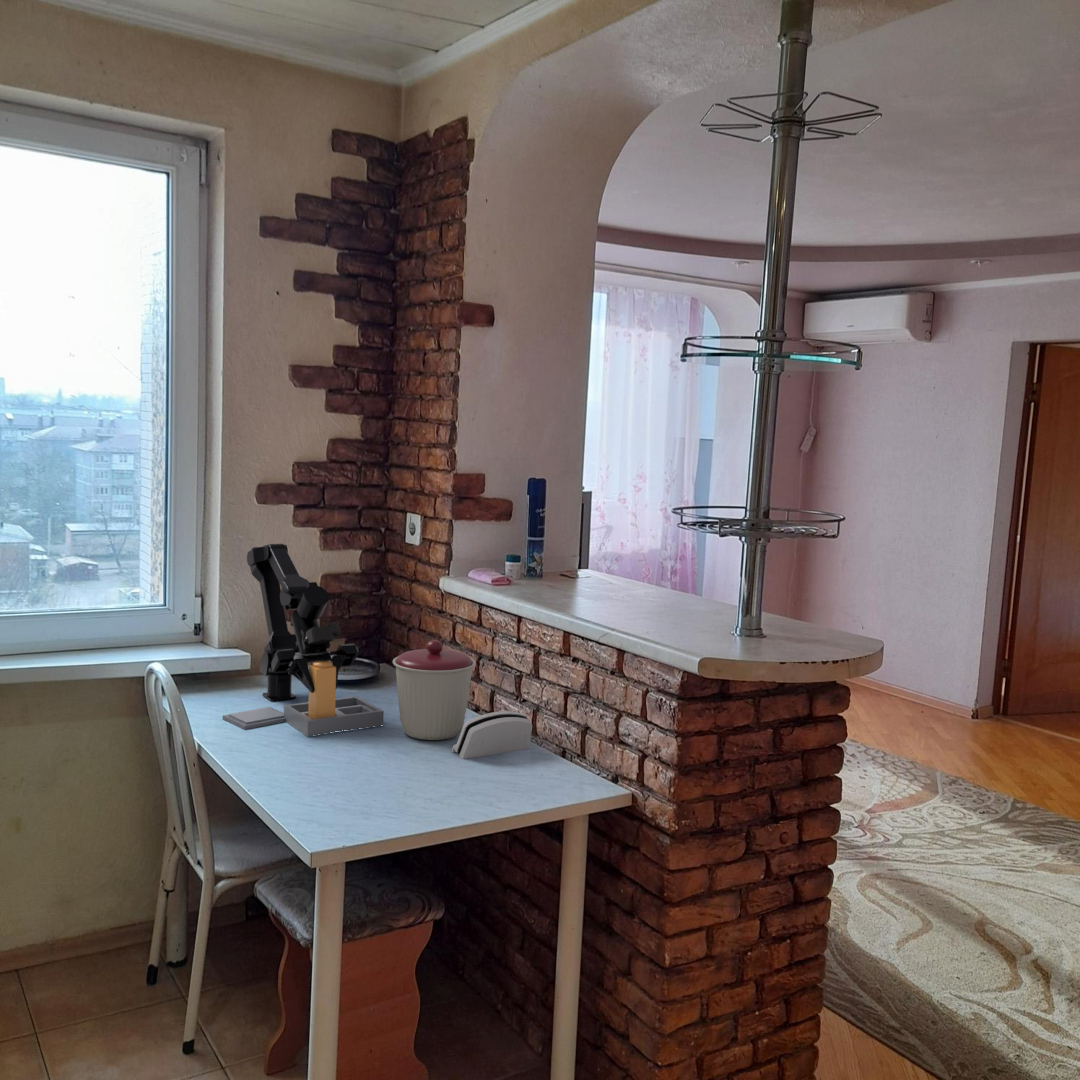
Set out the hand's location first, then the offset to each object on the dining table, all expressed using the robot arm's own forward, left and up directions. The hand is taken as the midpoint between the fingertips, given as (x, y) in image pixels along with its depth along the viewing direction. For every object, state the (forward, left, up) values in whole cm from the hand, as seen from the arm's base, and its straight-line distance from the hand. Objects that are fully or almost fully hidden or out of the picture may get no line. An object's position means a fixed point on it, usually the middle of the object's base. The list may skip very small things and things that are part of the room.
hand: (324, 690), depth 227 cm
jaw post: (-1, 0, -7) cm, 7 cm away
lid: (-14, -10, -9) cm, 19 cm away
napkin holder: (+30, +26, -9) cm, 40 cm away
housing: (-4, +4, -9) cm, 11 cm away
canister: (+13, +20, -9) cm, 26 cm away
